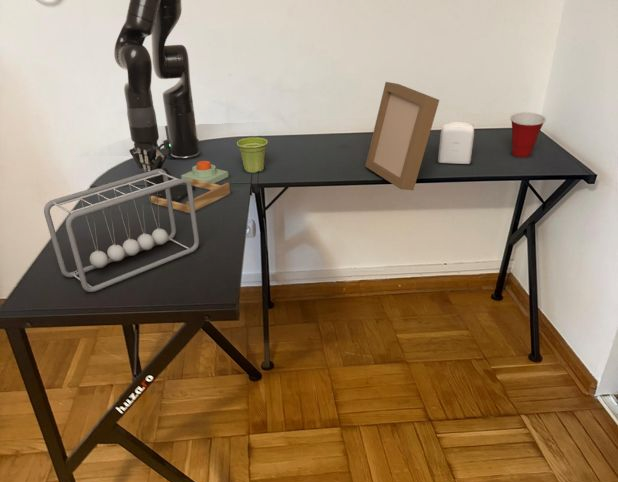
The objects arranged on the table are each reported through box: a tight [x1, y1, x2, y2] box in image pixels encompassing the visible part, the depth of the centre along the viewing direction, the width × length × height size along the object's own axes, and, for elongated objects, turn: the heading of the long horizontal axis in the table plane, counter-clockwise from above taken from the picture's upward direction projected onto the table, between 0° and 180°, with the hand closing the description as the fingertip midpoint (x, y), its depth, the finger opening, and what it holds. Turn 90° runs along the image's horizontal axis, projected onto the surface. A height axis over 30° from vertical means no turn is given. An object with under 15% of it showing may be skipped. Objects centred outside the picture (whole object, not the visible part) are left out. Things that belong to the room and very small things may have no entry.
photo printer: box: [437, 121, 475, 165], centre depth 187 cm, size 10×4×12 cm, turn 78°
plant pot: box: [236, 136, 269, 174], centre depth 186 cm, size 9×9×9 cm
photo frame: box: [364, 81, 440, 191], centre depth 174 cm, size 15×22×25 cm
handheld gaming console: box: [146, 167, 196, 203], centre depth 171 cm, size 12×7×10 cm
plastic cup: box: [509, 111, 547, 158], centre depth 192 cm, size 11×11×12 cm
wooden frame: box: [150, 179, 231, 214], centre depth 169 cm, size 14×17×3 cm
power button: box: [196, 160, 211, 170], centre depth 180 cm, size 4×4×2 cm
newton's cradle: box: [43, 168, 200, 293], centre depth 132 cm, size 30×10×18 cm, turn 135°
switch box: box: [180, 163, 229, 184], centre depth 181 cm, size 10×10×4 cm
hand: (152, 183), depth 175 cm, fingers closed
